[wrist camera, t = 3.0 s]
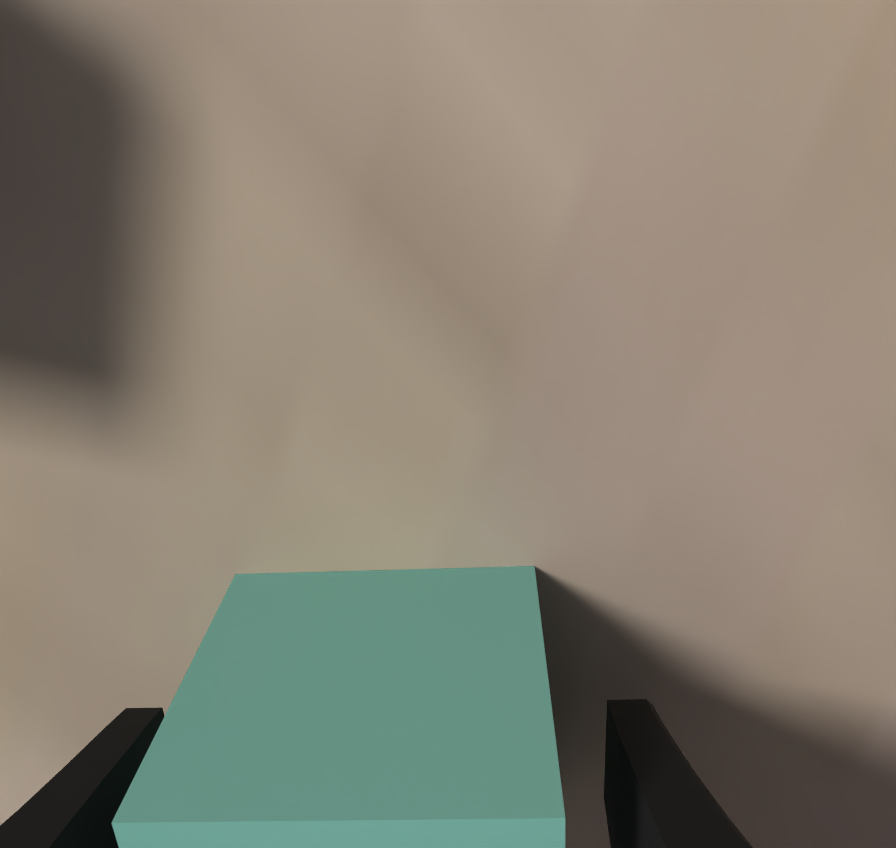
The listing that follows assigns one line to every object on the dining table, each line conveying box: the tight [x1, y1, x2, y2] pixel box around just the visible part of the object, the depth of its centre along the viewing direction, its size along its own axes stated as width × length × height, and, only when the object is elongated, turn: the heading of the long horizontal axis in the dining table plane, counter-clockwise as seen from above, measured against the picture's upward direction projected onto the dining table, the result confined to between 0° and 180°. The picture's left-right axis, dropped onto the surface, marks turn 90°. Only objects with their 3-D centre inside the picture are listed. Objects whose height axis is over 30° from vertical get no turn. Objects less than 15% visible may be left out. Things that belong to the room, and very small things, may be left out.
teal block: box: [112, 566, 565, 848], centre depth 12 cm, size 5×5×5 cm
